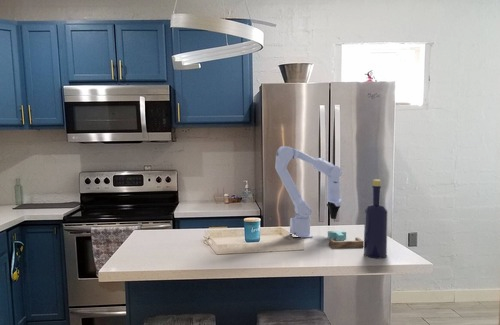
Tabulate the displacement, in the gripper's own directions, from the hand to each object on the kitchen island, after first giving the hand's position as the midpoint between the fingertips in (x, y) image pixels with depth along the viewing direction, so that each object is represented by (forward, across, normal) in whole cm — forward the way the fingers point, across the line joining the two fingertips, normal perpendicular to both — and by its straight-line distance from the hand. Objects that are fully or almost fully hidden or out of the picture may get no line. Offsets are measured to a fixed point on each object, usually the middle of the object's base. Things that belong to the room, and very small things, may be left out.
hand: (333, 218), depth 178 cm
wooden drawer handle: (+8, -18, 0) cm, 20 cm away
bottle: (+8, -32, -7) cm, 34 cm away
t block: (+8, -8, 0) cm, 11 cm away
